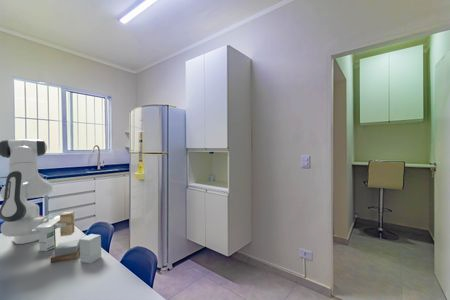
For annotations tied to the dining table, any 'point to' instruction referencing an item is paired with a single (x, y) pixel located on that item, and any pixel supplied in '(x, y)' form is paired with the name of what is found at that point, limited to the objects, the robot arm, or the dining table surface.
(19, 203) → the robot arm
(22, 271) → the dining table surface
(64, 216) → the oak block
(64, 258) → the tower base slab
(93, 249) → the supplement box
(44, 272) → the dining table surface
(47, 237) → the syrup box
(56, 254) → the tower top slab
